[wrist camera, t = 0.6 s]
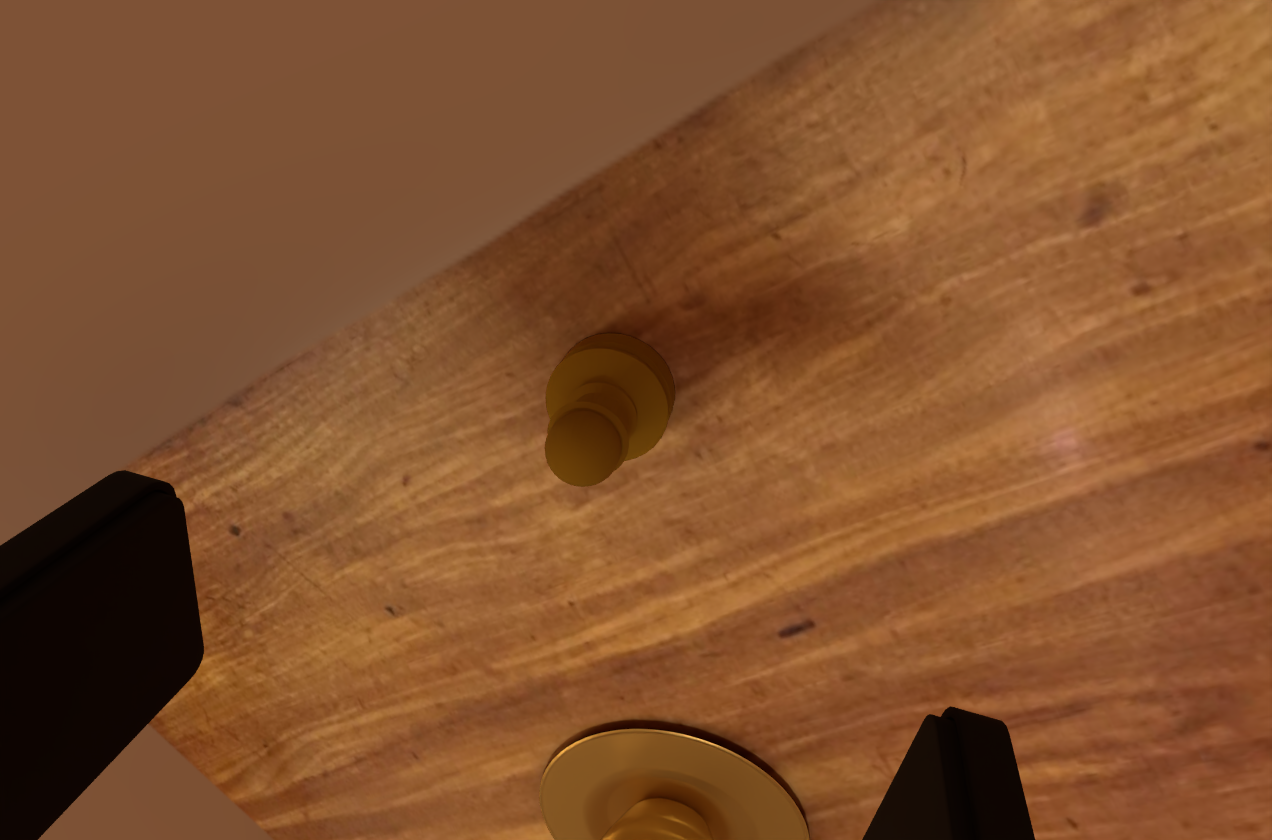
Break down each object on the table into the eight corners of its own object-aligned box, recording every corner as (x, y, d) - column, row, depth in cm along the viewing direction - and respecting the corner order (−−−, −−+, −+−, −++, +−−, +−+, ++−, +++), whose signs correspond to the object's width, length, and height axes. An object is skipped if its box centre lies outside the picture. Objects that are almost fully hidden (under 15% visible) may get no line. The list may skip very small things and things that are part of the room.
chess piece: (700, 387, 25) (673, 469, 21) (626, 463, 27) (587, 551, 23) (604, 307, 24) (555, 373, 20) (535, 390, 26) (477, 467, 22)
